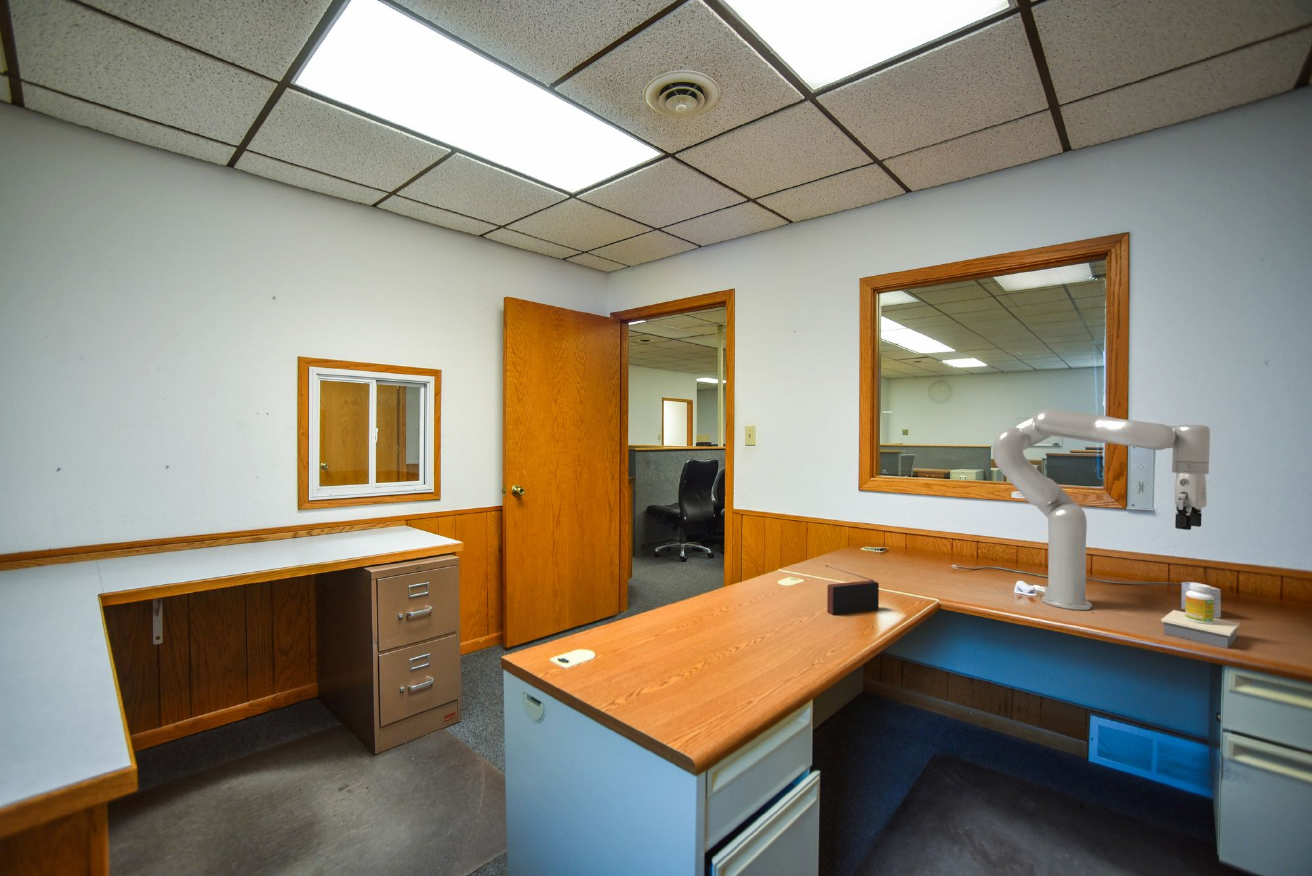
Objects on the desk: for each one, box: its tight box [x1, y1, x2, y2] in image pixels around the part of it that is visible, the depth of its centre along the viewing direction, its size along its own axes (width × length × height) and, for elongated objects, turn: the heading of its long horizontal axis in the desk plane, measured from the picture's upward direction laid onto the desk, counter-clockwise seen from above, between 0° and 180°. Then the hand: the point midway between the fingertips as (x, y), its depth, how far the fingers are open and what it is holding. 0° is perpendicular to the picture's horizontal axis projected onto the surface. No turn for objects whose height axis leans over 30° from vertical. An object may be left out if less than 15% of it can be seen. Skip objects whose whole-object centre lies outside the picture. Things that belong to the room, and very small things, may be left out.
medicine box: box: [1180, 581, 1222, 619], centre depth 164 cm, size 8×4×9 cm, turn 179°
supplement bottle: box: [1184, 582, 1214, 624], centre depth 147 cm, size 5×5×10 cm
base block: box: [1160, 609, 1241, 649], centre depth 147 cm, size 13×13×4 cm
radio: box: [825, 565, 880, 616], centre depth 167 cm, size 19×3×15 cm, turn 108°
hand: (1188, 527), depth 156 cm, fingers open, 9 cm apart
